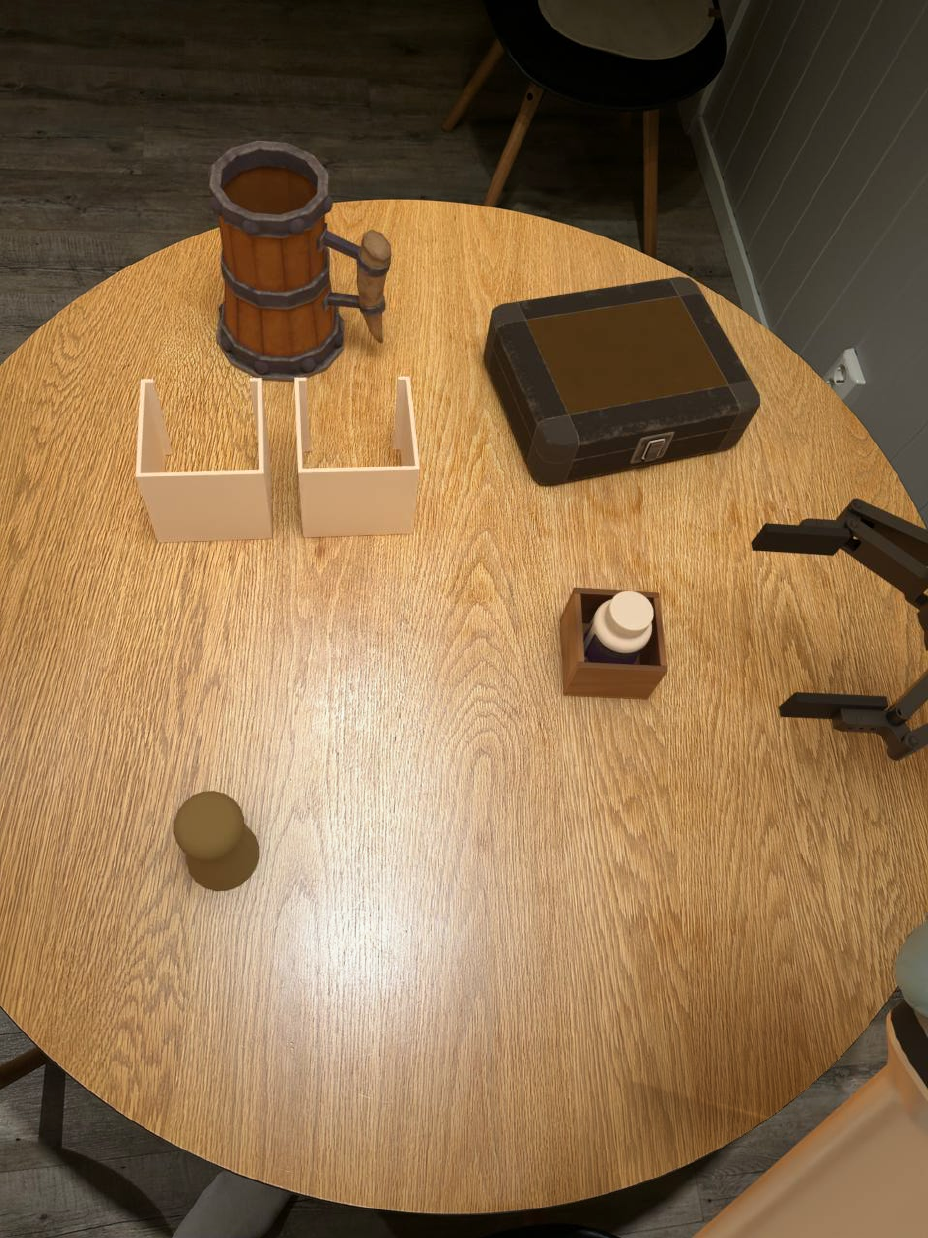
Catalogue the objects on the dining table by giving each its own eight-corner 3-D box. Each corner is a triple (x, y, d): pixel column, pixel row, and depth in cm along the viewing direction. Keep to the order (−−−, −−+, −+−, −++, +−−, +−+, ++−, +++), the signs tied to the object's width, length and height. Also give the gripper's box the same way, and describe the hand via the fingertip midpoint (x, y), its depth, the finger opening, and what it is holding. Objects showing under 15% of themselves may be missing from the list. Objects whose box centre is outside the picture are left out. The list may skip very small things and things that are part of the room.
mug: (402, 315, 109) (413, 162, 91) (368, 408, 102) (373, 263, 84) (241, 273, 109) (221, 113, 91) (196, 363, 102) (166, 209, 85)
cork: (172, 874, 78) (148, 841, 68) (208, 808, 80) (189, 767, 71) (238, 903, 77) (223, 874, 67) (272, 836, 80) (262, 799, 70)
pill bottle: (637, 679, 90) (668, 634, 82) (584, 685, 89) (609, 640, 81) (624, 629, 93) (653, 580, 84) (572, 634, 92) (595, 585, 83)
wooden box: (647, 699, 90) (668, 672, 84) (563, 695, 89) (578, 667, 83) (640, 623, 94) (659, 592, 88) (559, 618, 93) (573, 587, 87)
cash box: (537, 495, 99) (551, 451, 93) (478, 352, 108) (487, 302, 101) (743, 452, 105) (771, 407, 98) (672, 320, 113) (693, 270, 107)
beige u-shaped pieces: (157, 542, 92) (135, 476, 82) (161, 451, 97) (140, 379, 87) (412, 533, 95) (419, 469, 86) (403, 446, 100) (409, 376, 91)
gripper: (1061, 811, 67) (778, 801, 65) (973, 519, 79) (730, 502, 77) (1140, 778, 61) (827, 766, 58) (1031, 466, 72) (767, 445, 70)
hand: (771, 616), depth 67 cm, fingers open, 13 cm apart
